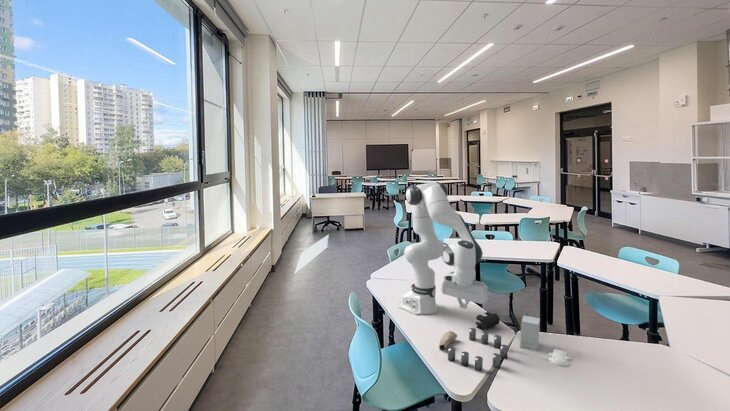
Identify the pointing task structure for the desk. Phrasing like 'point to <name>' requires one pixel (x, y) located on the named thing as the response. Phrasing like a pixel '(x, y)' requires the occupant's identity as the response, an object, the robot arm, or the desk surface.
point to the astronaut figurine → (559, 358)
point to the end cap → (487, 321)
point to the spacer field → (479, 359)
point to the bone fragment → (447, 339)
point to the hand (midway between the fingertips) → (463, 307)
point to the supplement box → (529, 332)
